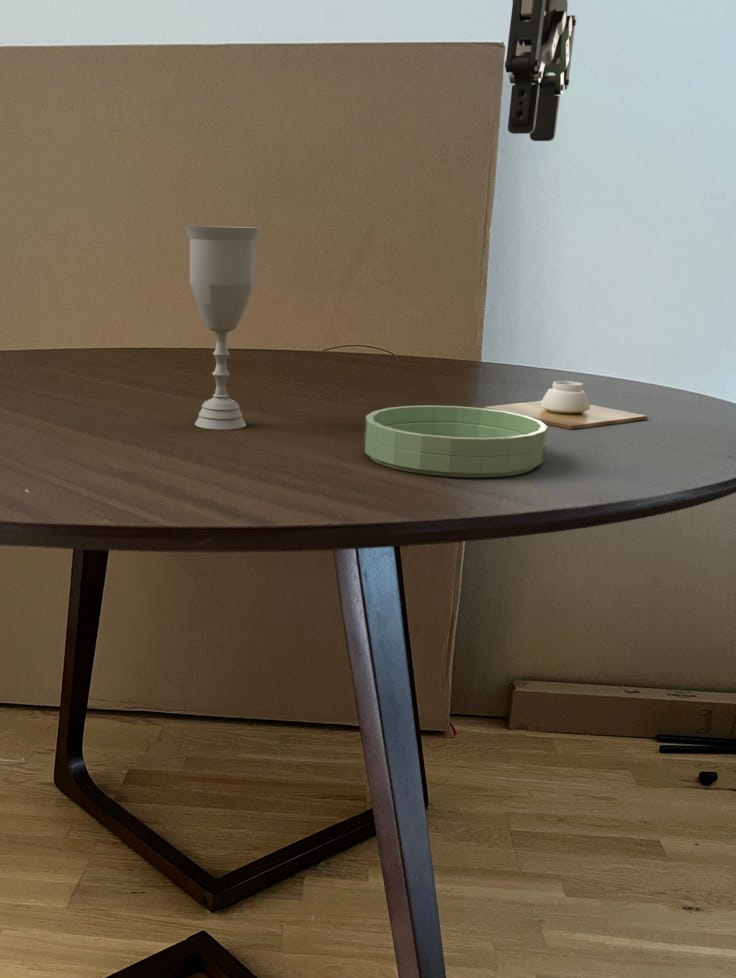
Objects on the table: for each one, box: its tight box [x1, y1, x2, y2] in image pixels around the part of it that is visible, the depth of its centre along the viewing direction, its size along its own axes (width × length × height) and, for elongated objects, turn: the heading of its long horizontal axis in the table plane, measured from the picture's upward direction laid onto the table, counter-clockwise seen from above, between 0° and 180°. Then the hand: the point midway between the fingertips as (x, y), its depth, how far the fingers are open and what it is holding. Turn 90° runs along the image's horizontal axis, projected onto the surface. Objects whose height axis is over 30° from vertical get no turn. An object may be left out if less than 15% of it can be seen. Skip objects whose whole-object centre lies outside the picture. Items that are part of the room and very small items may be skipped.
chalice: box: [184, 225, 261, 430], centre depth 97 cm, size 7×7×18 cm
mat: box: [484, 400, 649, 430], centre depth 110 cm, size 12×12×1 cm
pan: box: [363, 404, 549, 479], centre depth 88 cm, size 15×15×3 cm
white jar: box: [540, 380, 591, 414], centre depth 109 cm, size 5×3×5 cm
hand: (531, 137), depth 92 cm, fingers open, 8 cm apart
